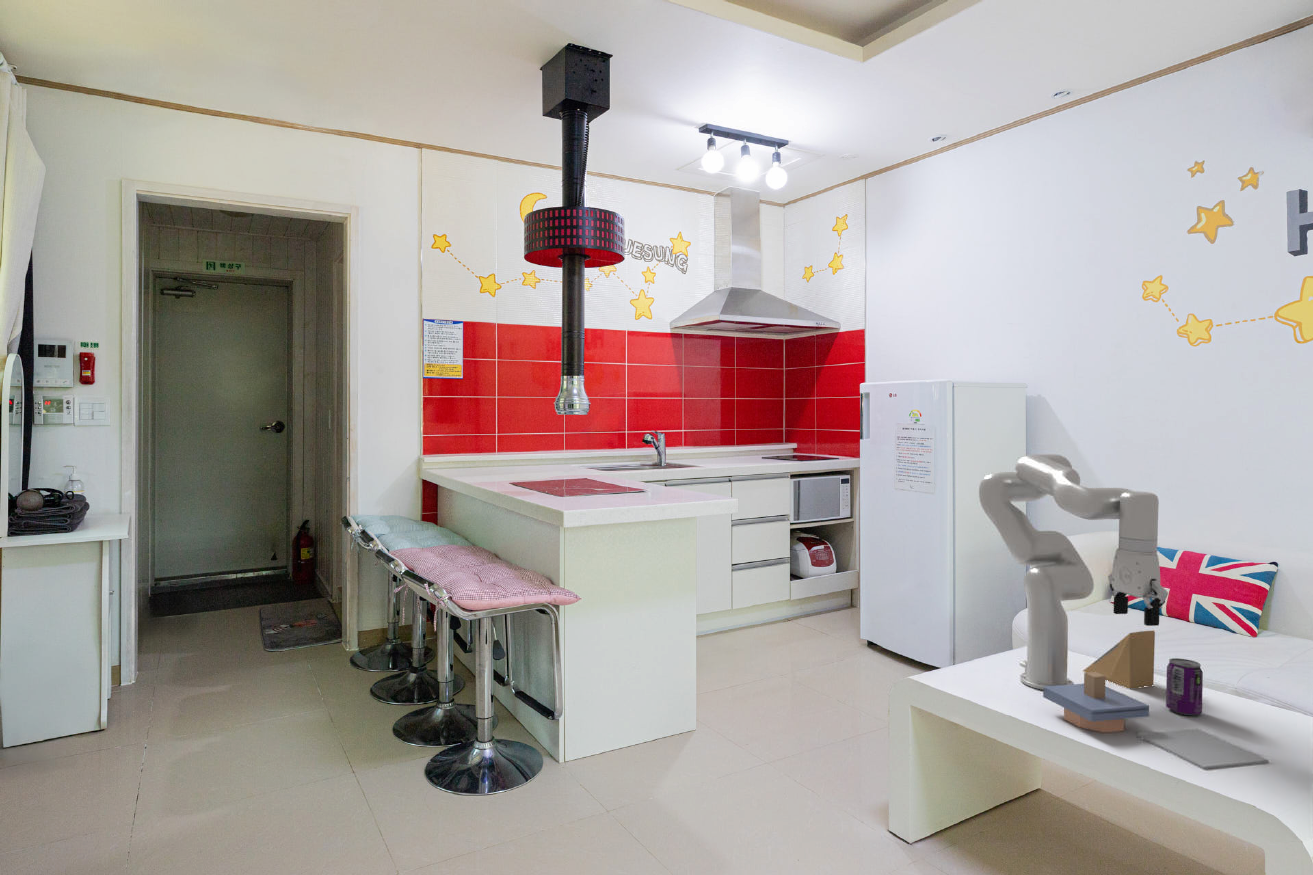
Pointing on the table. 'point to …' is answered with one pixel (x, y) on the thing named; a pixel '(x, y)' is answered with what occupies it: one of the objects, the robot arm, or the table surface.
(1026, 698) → the table surface
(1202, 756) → the mat
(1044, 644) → the robot arm
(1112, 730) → the bowl
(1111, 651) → the sandwich container
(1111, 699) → the cover
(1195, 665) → the beverage can
